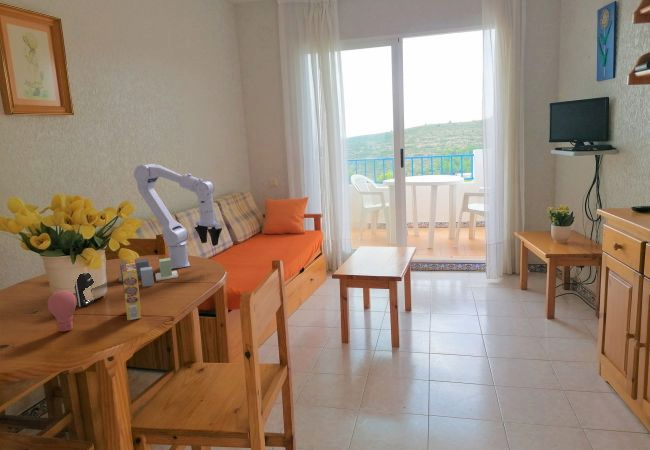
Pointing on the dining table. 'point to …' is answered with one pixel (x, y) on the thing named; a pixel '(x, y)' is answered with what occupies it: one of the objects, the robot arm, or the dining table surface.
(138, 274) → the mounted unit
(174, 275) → the plate
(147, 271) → the blue-grey part
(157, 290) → the dining table surface
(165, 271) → the sage part
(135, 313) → the candy box
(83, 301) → the black curved piece
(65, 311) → the light bulb
